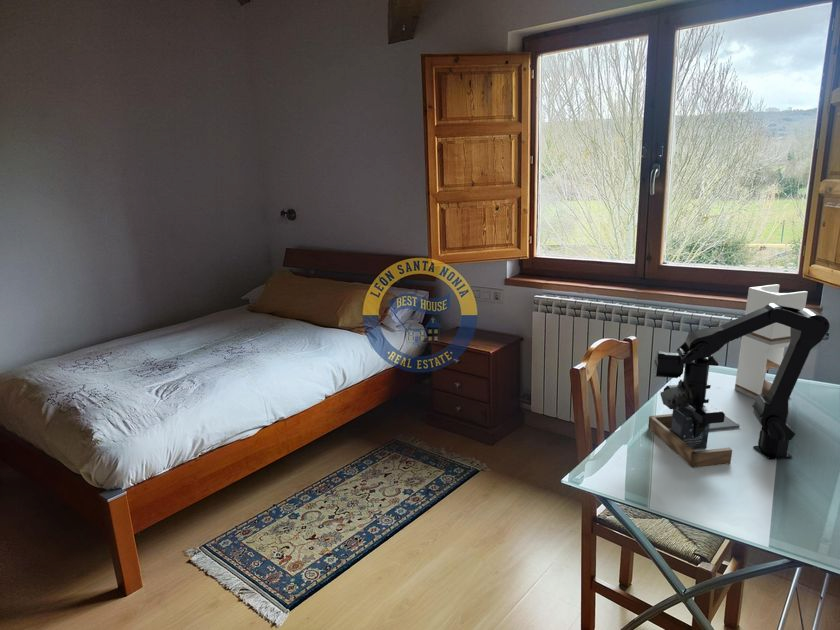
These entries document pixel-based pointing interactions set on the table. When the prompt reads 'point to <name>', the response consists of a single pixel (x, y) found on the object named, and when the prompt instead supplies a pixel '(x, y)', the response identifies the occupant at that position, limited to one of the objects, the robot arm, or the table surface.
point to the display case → (764, 340)
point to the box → (688, 428)
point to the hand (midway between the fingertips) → (689, 431)
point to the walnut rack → (693, 458)
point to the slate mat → (723, 425)
